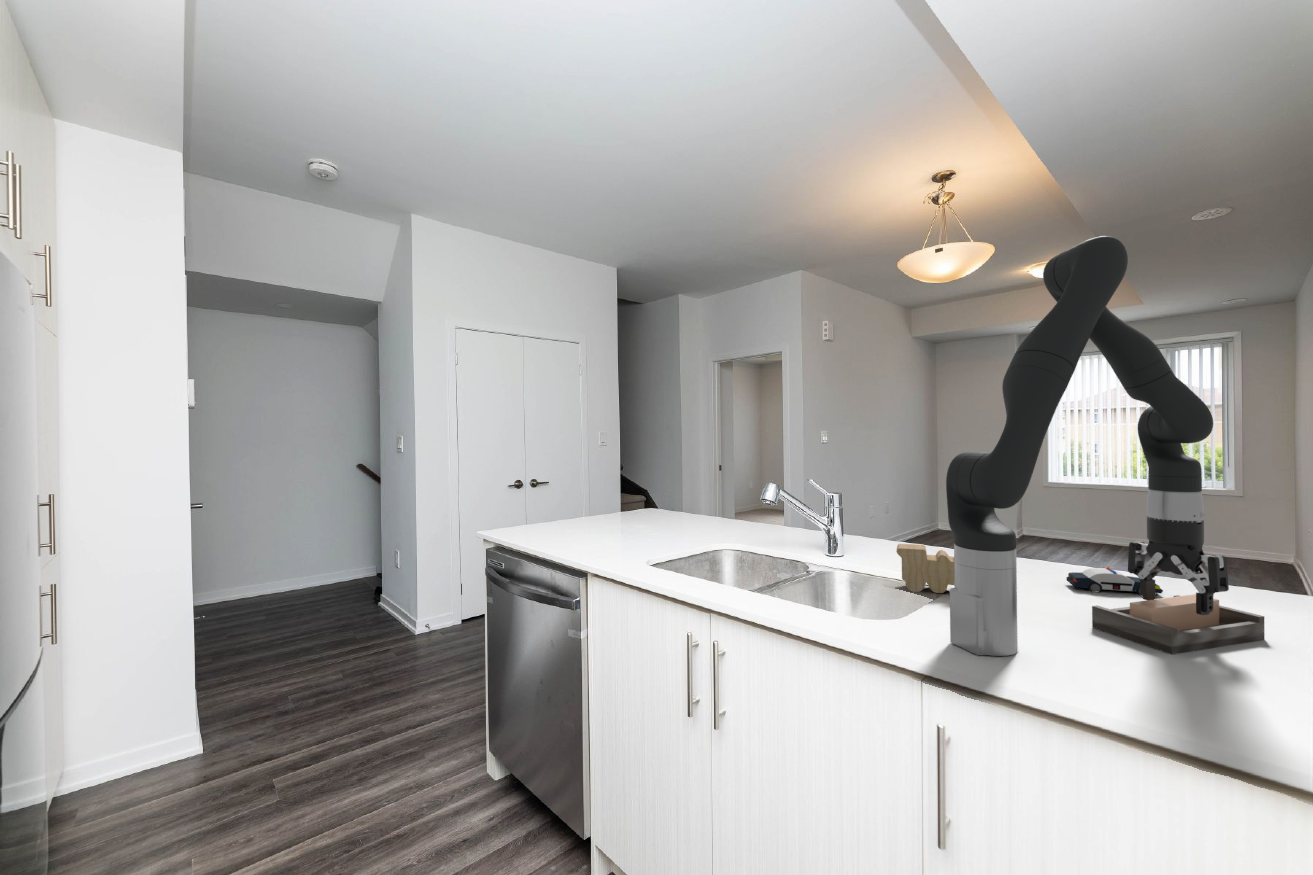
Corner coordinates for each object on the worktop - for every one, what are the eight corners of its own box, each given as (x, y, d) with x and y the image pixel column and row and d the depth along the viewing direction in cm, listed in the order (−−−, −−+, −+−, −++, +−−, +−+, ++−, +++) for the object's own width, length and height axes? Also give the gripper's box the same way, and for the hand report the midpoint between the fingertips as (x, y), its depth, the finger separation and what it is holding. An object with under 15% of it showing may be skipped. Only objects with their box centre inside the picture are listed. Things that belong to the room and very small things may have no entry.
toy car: (1163, 598, 122) (1162, 574, 122) (1073, 591, 128) (1073, 569, 128) (1152, 591, 127) (1152, 569, 127) (1066, 585, 133) (1066, 564, 133)
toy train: (981, 598, 124) (980, 552, 124) (896, 590, 131) (896, 547, 131) (978, 591, 129) (978, 547, 129) (897, 584, 136) (896, 542, 136)
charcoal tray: (1171, 654, 92) (1171, 629, 92) (1092, 627, 105) (1092, 605, 105) (1264, 639, 97) (1264, 616, 97) (1178, 615, 110) (1178, 595, 110)
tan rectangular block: (1152, 634, 97) (1151, 608, 97) (1130, 627, 101) (1129, 602, 101) (1219, 624, 101) (1219, 599, 101) (1195, 618, 105) (1195, 594, 105)
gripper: (1116, 511, 107) (1117, 597, 107) (1206, 523, 93) (1207, 621, 93) (1147, 509, 108) (1147, 593, 109) (1239, 520, 95) (1239, 617, 95)
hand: (1175, 606), depth 101 cm, fingers open, 8 cm apart
